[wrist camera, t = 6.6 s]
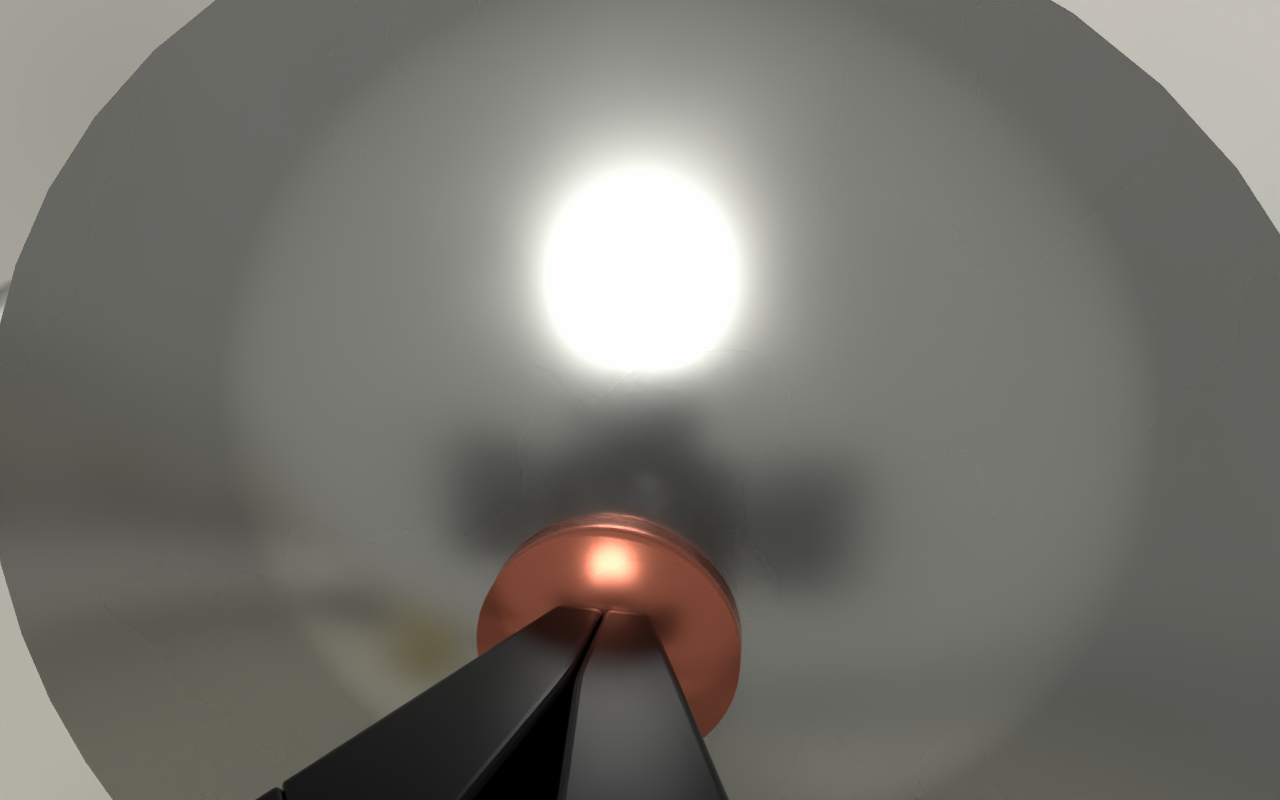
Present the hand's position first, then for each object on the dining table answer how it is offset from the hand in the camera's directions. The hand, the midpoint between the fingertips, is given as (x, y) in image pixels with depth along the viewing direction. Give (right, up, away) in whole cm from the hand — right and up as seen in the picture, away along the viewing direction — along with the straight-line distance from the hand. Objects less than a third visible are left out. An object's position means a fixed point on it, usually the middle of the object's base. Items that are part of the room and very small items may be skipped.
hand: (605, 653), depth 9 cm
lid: (0, +1, +1) cm, 2 cm away
